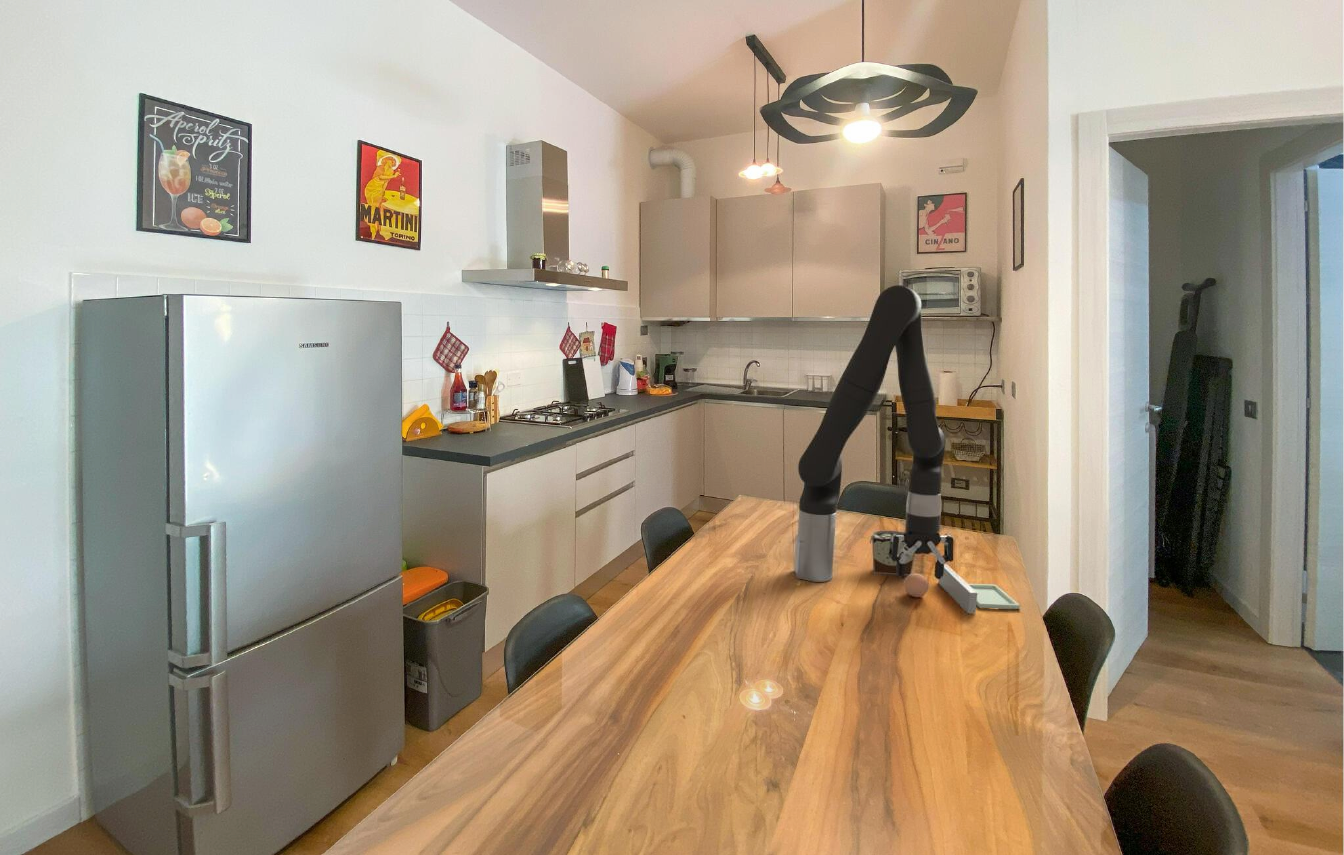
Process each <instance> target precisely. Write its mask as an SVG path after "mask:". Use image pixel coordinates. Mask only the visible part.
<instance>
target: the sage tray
mask: <svg viewBox="0 0 1344 855" xmlns="http://www.w3.org/2000/svg"><path fill="white" fill-rule="evenodd" d="M967 584H968V585H969V586H971V587H972V588H973V589H974V590H975V591H976V592H977V602H976V605H977V606H978V607H979V608H998V609H997V610H999V609H1021V608H1020V606H1021V604H1019V603H1018V602H1017V601H1016V600H1014V598H1012V597H1011V596H1010V595H1008V593H1006V592H1005V591H1004V590H1002V588H1000V586H998V585H997V584H991V583H990V584H988V583H987V584H986V583H985V584H984V583H981V584H980V583H967ZM977 606H976V607H977ZM978 607H977V608H978ZM979 608H978V609H979Z"/></svg>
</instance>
